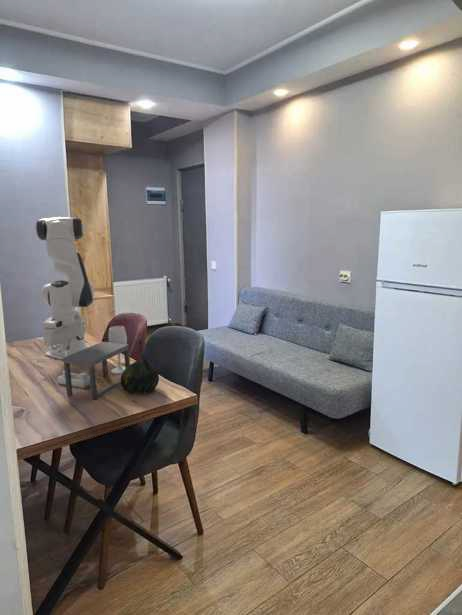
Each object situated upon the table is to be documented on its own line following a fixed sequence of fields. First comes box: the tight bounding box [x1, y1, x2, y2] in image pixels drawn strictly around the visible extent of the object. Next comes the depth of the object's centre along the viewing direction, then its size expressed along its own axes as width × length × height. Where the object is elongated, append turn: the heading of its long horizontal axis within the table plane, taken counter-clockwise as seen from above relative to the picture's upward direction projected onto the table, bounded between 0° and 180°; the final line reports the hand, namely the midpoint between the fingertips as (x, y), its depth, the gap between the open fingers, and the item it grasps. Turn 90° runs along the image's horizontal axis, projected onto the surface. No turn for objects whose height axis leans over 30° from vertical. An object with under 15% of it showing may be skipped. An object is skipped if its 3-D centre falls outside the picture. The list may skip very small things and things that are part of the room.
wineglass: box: [108, 325, 128, 375], centre depth 194 cm, size 9×9×21 cm
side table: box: [62, 341, 131, 401], centre depth 176 cm, size 14×24×16 cm, turn 158°
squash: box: [120, 358, 160, 395], centre depth 171 cm, size 14×15×15 cm
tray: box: [57, 370, 91, 389], centre depth 182 cm, size 14×6×5 cm, turn 67°
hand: (66, 350), depth 182 cm, fingers closed
